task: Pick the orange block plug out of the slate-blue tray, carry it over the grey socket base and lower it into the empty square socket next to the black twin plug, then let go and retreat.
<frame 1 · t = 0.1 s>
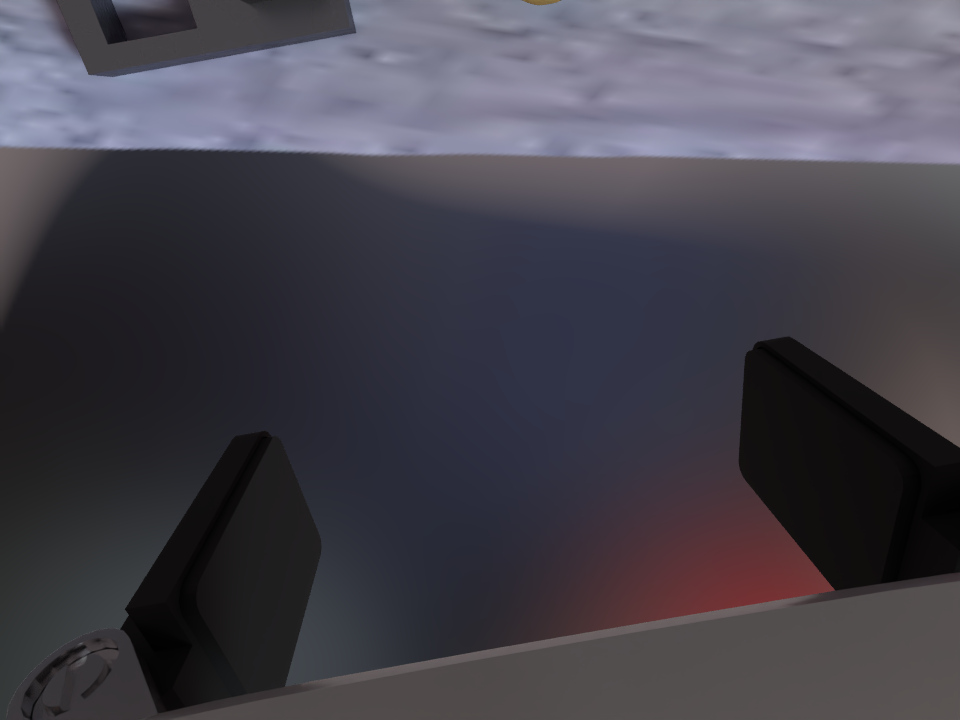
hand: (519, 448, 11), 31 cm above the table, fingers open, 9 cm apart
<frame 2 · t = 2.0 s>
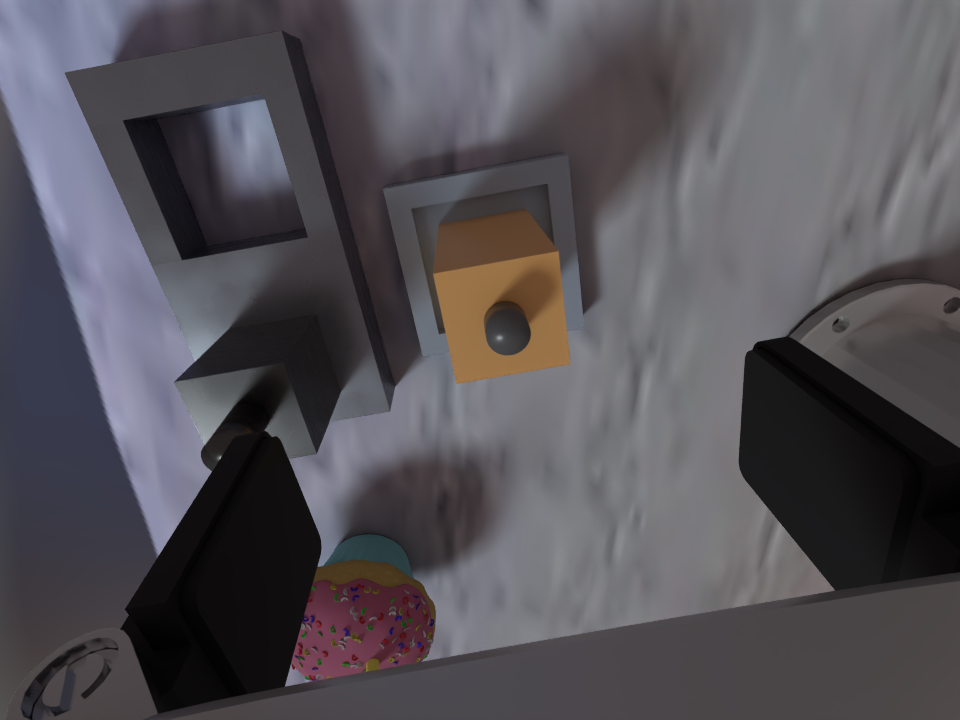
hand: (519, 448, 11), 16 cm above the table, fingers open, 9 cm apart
tray: (488, 256, 25), on the table
grey socket base: (270, 253, 24), on the table
plug: (489, 259, 25), resting on tray
cupcake: (370, 561, 33), on the table
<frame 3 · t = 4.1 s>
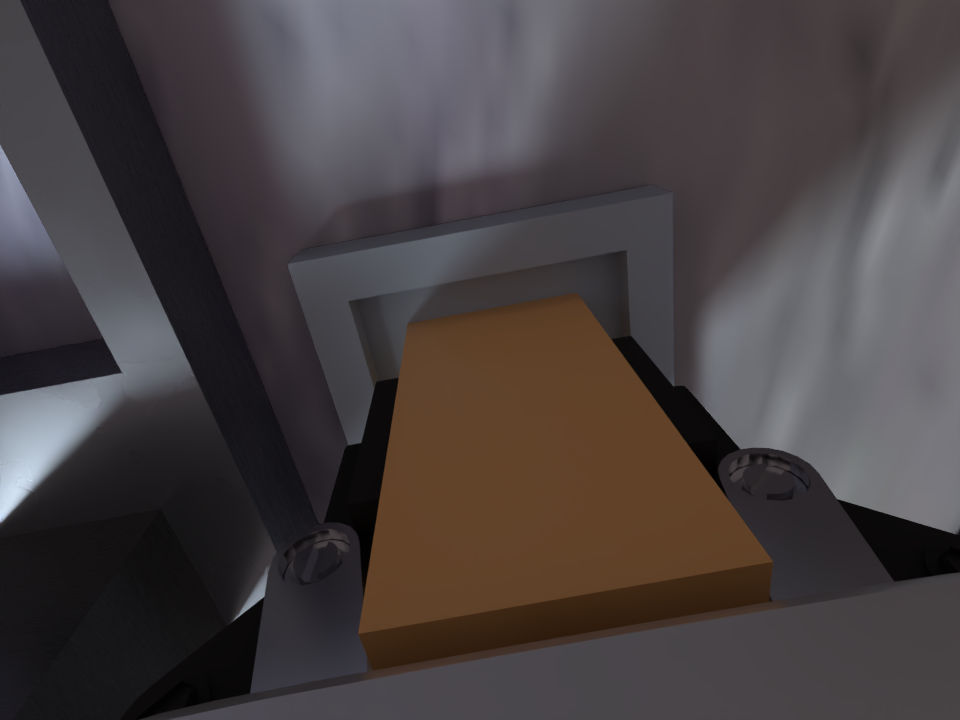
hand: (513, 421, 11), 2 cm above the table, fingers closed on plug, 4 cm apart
tray: (502, 373, 13), on the table
grey socket base: (85, 374, 13), on the table
plug: (504, 382, 13), point 1 cm above the table, touching gripper, tray
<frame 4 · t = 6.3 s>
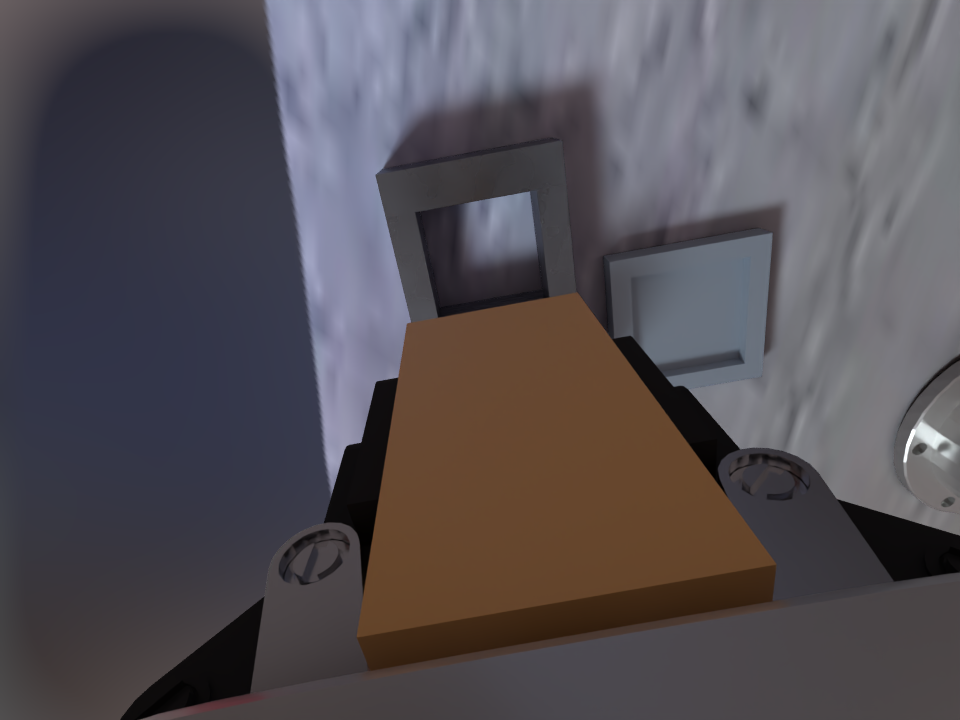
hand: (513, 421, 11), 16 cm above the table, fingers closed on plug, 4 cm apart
tray: (681, 314, 28), on the table
grey socket base: (493, 312, 28), on the table
plug: (504, 382, 13), point 15 cm above the table, touching gripper
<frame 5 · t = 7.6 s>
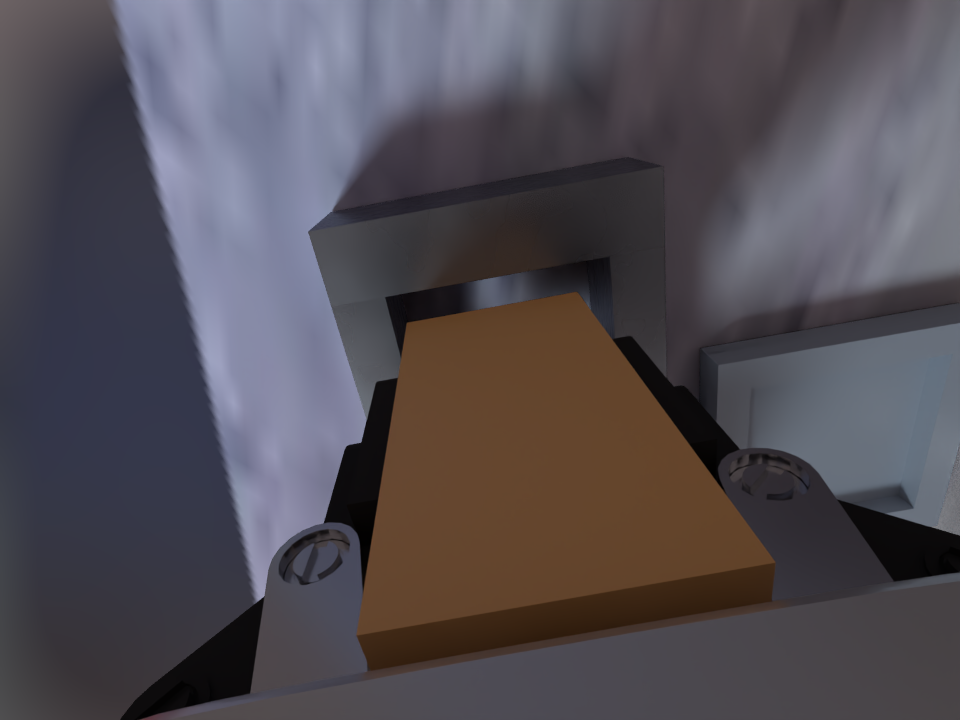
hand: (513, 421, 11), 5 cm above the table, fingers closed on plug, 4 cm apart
tray: (814, 432, 18), on the table
grey socket base: (519, 434, 17), on the table
plug: (504, 382, 13), point 3 cm above the table, touching gripper
when the fingers open (3 cm above the table, at t = 8.5 s): plug drops 2 cm, resting in grey socket base.
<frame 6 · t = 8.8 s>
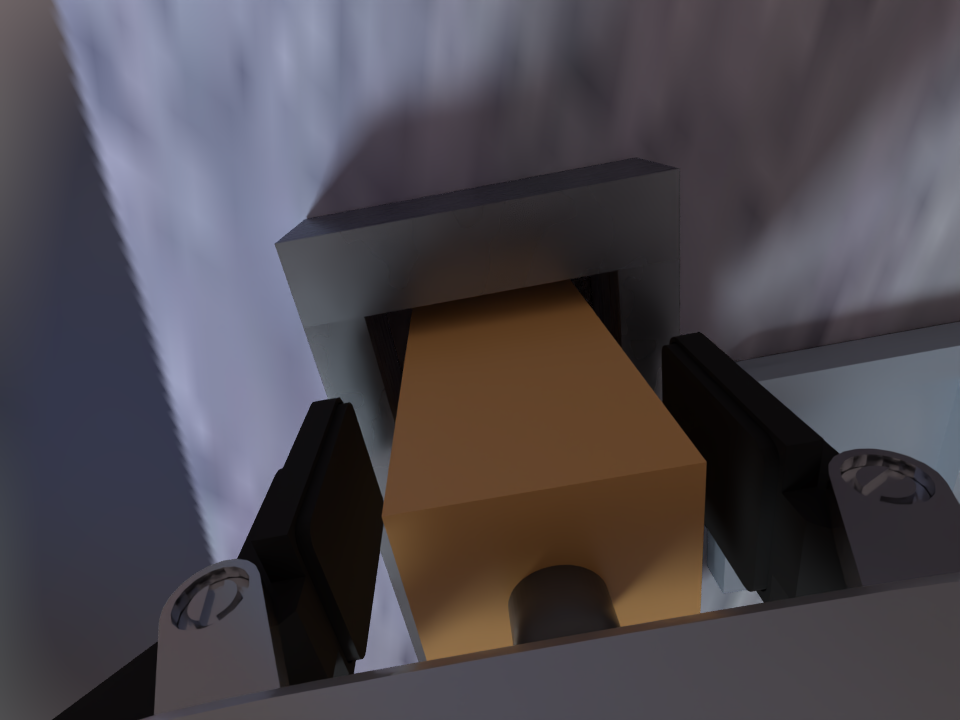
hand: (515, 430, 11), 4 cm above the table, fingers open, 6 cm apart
tray: (834, 454, 17), on the table
grey socket base: (515, 458, 16), on the table
plug: (500, 355, 14), resting in grey socket base
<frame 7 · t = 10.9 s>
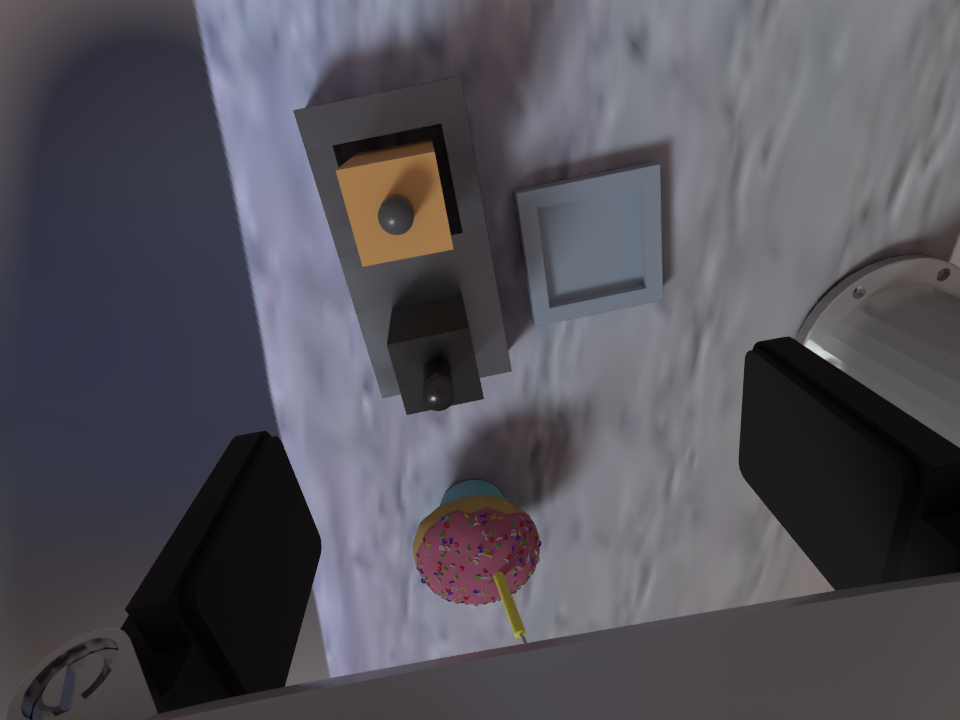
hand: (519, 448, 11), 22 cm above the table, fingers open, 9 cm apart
tray: (588, 245, 31), on the table
grey socket base: (416, 246, 30), on the table
plug: (403, 184, 29), resting in grey socket base
cupcake: (471, 503, 40), on the table
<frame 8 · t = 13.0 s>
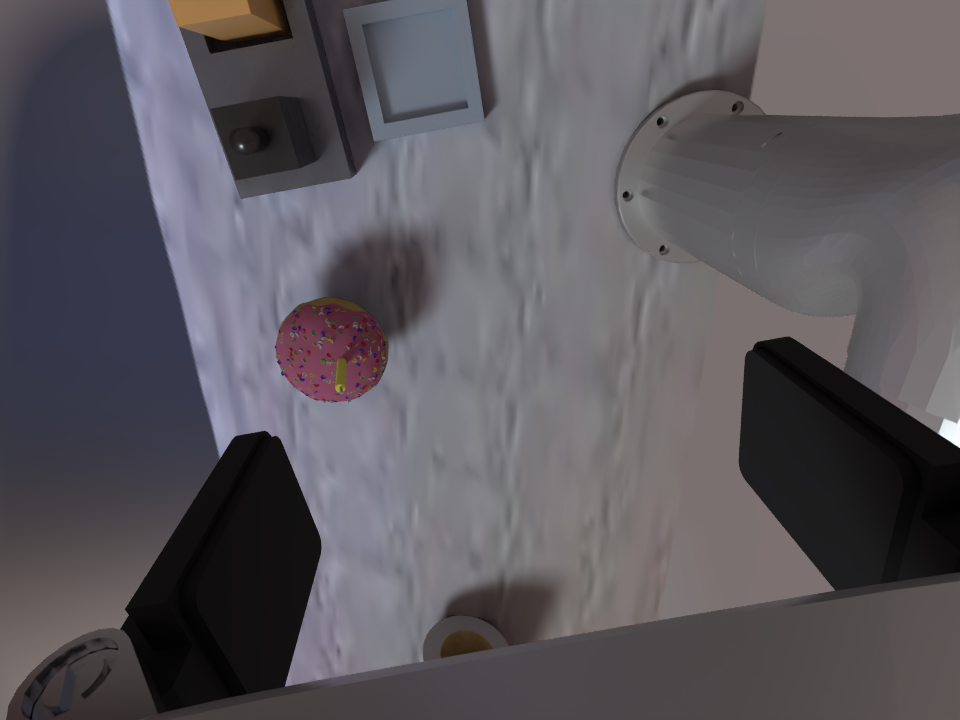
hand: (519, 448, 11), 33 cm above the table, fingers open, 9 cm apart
tray: (417, 69, 37), on the table
grey socket base: (267, 63, 36), on the table
plug: (250, 2, 34), resting in grey socket base
toilet paper: (457, 642, 63), on the table
cupcake: (343, 329, 45), on the table
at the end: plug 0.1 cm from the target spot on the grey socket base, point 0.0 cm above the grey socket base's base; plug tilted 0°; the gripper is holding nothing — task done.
